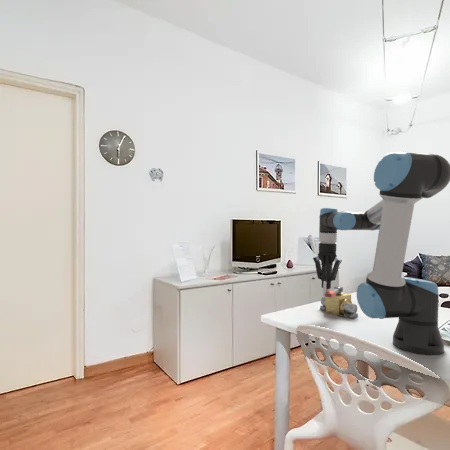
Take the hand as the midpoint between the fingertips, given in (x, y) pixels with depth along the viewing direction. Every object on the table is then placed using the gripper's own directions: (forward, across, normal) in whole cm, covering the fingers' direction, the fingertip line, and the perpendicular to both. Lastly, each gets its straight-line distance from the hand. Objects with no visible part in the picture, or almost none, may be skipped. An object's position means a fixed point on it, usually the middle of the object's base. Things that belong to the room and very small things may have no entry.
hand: (325, 295), depth 146 cm
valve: (+10, 0, -12) cm, 15 cm away
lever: (-1, -1, -5) cm, 5 cm away
